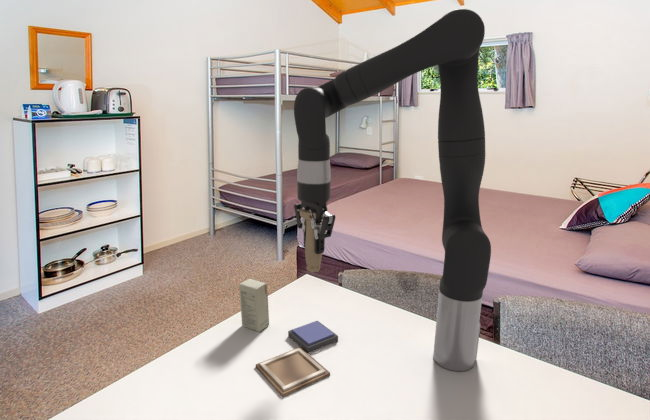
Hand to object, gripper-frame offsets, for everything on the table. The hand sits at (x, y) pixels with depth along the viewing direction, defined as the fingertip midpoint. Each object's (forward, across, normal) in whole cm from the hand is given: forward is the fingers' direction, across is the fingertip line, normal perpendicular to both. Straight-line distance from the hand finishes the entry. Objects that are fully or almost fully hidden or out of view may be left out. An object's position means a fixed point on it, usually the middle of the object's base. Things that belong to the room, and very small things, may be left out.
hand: (313, 249), depth 101 cm
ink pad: (+24, 0, 0) cm, 24 cm away
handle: (+5, 0, 0) cm, 5 cm away
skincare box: (+24, +14, +9) cm, 29 cm away
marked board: (+24, -8, +11) cm, 27 cm away
